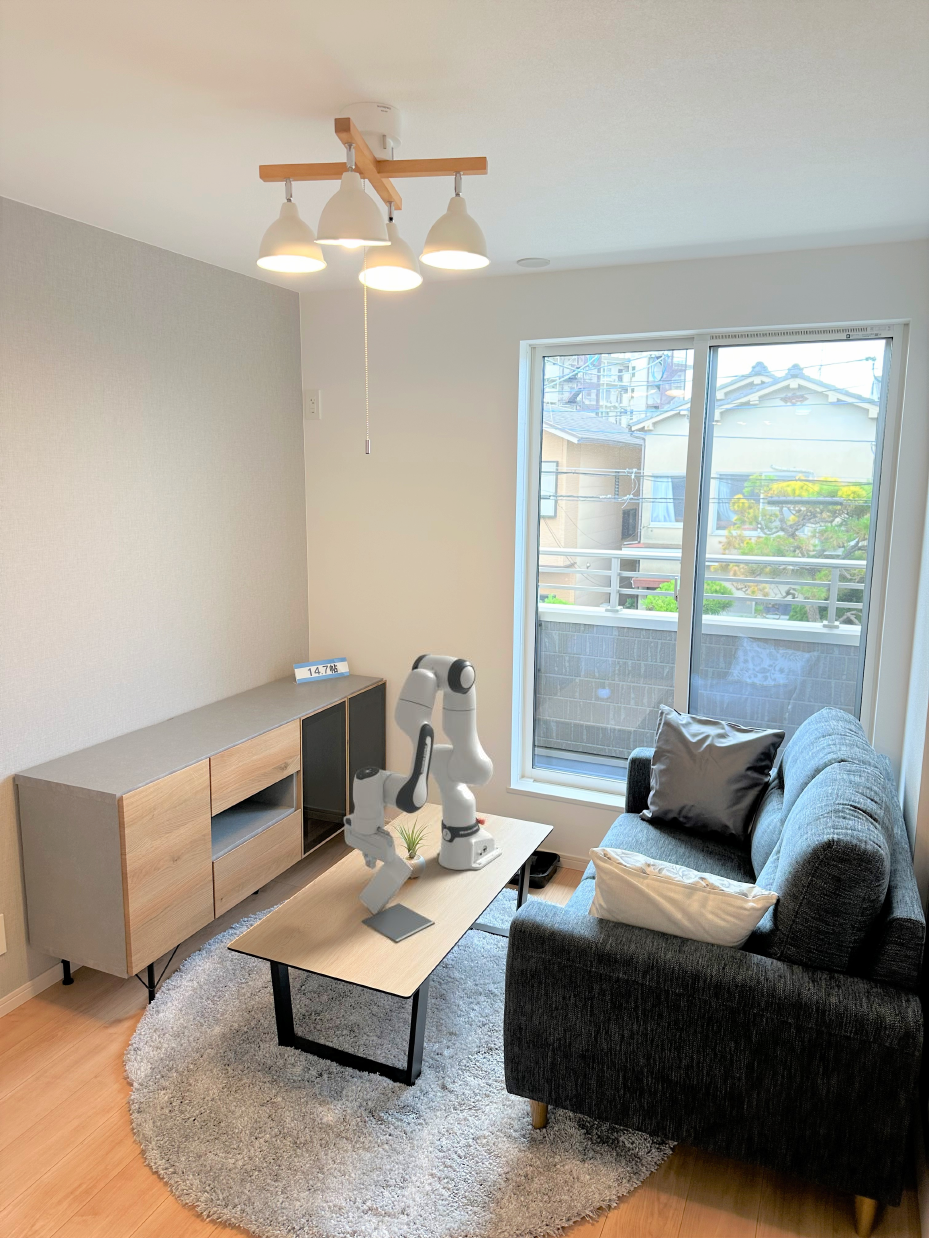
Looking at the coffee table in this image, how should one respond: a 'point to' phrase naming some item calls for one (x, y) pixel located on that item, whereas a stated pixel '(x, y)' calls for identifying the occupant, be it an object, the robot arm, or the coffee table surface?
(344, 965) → the coffee table surface
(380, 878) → the milk carton
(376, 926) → the mat
